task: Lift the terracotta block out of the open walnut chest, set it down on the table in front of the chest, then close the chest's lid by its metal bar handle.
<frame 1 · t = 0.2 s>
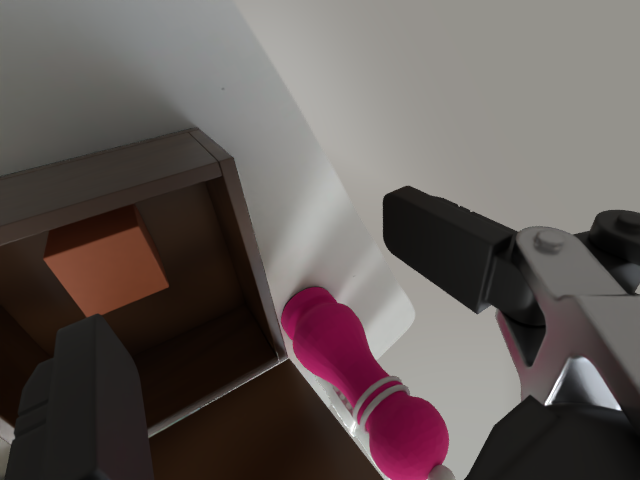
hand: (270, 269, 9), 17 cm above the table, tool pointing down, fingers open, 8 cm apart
pepper mill: (305, 309, 37), on the table
block: (109, 238, 22), point 1 cm above the table, touching chest
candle: (328, 350, 43), on the table
chest: (128, 266, 24), on the table
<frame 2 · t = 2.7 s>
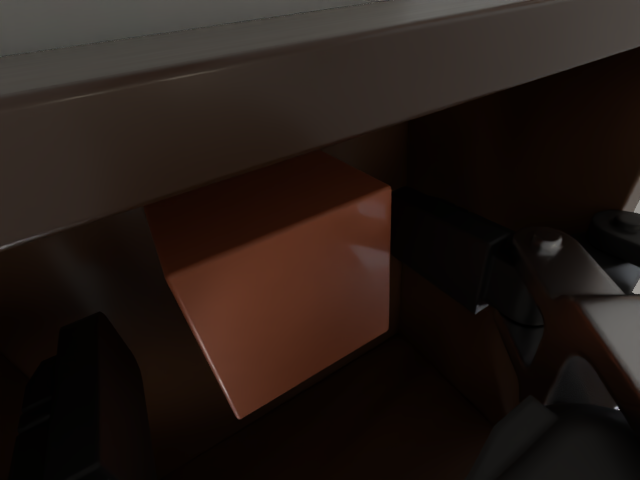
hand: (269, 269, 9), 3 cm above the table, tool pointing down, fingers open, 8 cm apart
block: (241, 224, 11), point 1 cm above the table, touching chest
chest: (253, 279, 13), on the table
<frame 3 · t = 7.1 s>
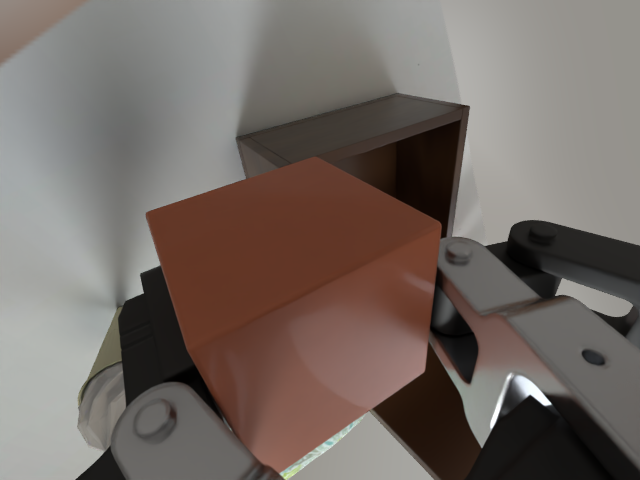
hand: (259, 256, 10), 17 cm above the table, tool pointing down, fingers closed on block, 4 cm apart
towel: (290, 389, 43), on the table
block: (258, 251, 10), point 17 cm above the table, touching gripper
chest: (333, 201, 32), on the table
lid: (472, 378, 24), point 17 cm above the table, hinge at 70.0°
ice cream cone: (120, 307, 26), on the table
when the fingers open (0 cm above the table, at t = 11.1 s): block stays where it is, on the table.
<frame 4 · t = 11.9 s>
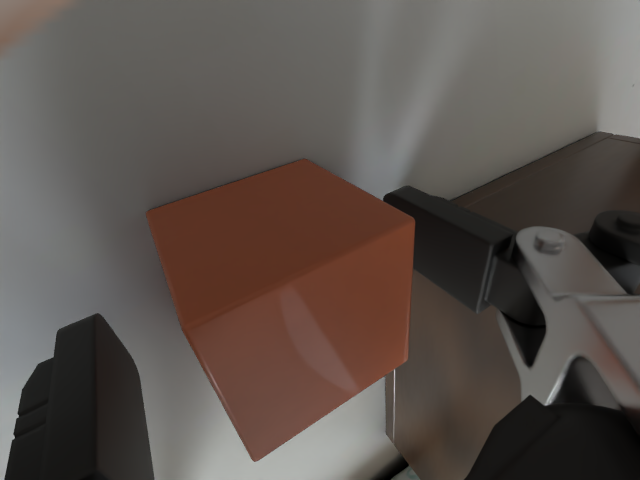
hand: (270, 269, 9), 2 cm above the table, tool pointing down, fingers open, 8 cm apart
block: (251, 248, 10), on the table
chest: (482, 296, 21), on the table
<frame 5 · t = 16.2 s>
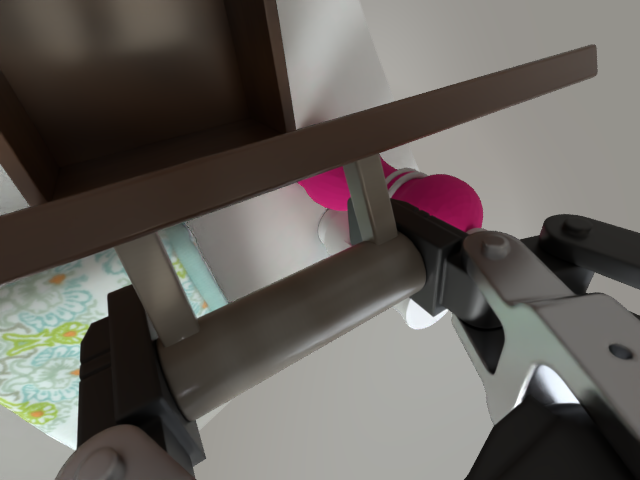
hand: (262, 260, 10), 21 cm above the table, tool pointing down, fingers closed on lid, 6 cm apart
pepper mill: (314, 157, 34), on the table
towel: (132, 330, 32), on the table
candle: (338, 224, 40), on the table
chest: (118, 23, 21), on the table
lid: (228, 225, 13), point 17 cm above the table, hinge at 70.0°, touching gripper
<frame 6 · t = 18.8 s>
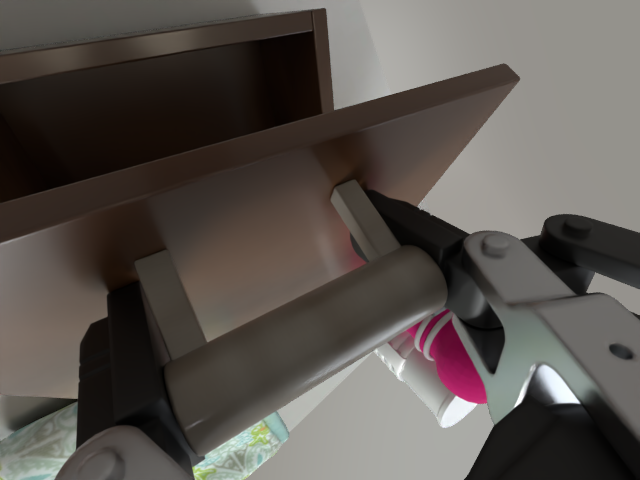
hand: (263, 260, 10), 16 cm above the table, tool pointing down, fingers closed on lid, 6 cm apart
pepper mill: (347, 249, 35), on the table
towel: (175, 418, 34), on the table
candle: (365, 300, 41), on the table
chest: (182, 174, 23), on the table
lid: (273, 331, 13), point 14 cm above the table, hinge at 31.8°, touching gripper
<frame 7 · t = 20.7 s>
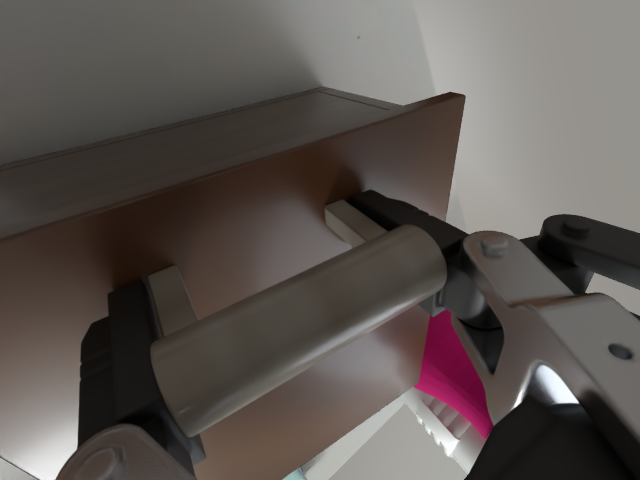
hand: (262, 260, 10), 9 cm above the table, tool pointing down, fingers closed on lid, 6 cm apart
pepper mill: (390, 311, 32), on the table
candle: (402, 356, 38), on the table
chest: (226, 263, 20), on the table
lid: (312, 404, 12), point 10 cm above the table, hinge at 1.6°, touching gripper
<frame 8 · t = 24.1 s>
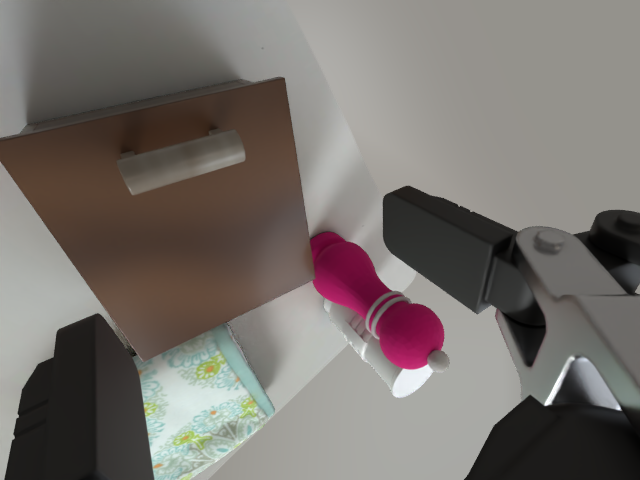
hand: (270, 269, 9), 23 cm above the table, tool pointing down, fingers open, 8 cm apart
pepper mill: (321, 252, 42), on the table
towel: (178, 393, 41), on the table
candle: (340, 296, 48), on the table
chest: (183, 196, 30), on the table
lid: (213, 245, 22), point 10 cm above the table, hinge at 1.0°
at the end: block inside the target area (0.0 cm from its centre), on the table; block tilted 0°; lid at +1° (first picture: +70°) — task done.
